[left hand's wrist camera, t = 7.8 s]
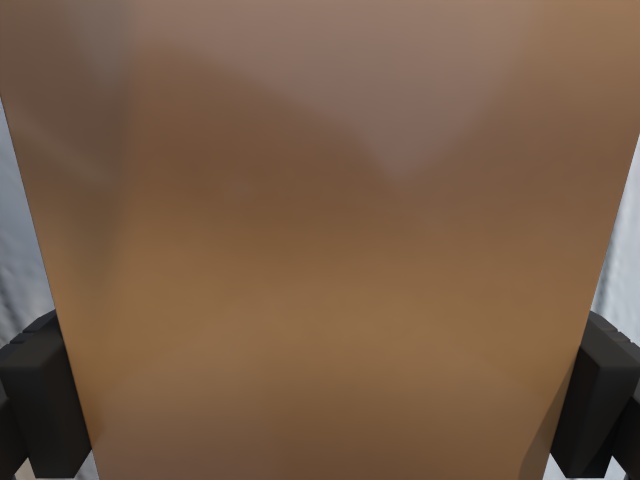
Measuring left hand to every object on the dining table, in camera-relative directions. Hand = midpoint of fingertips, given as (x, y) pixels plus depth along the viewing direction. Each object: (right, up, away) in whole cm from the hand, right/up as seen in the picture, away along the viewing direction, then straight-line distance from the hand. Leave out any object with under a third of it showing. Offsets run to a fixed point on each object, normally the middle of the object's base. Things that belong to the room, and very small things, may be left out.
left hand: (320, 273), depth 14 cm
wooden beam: (0, +28, -10) cm, 29 cm away
